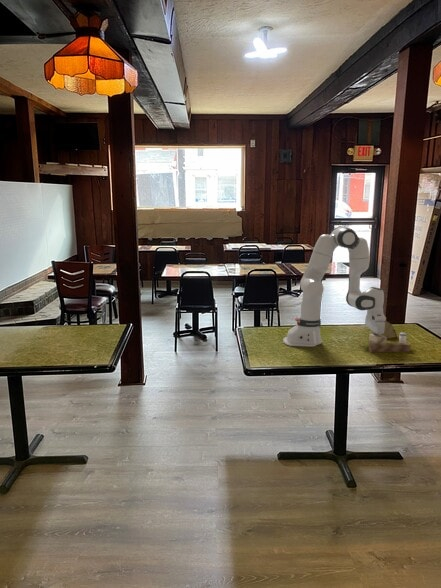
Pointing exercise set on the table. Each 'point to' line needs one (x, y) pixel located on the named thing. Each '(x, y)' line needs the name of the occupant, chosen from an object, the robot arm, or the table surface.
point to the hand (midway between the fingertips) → (373, 337)
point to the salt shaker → (402, 337)
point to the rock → (389, 330)
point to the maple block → (377, 338)
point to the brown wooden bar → (389, 347)
